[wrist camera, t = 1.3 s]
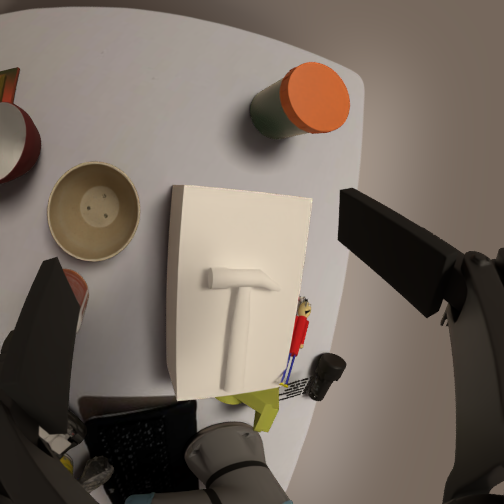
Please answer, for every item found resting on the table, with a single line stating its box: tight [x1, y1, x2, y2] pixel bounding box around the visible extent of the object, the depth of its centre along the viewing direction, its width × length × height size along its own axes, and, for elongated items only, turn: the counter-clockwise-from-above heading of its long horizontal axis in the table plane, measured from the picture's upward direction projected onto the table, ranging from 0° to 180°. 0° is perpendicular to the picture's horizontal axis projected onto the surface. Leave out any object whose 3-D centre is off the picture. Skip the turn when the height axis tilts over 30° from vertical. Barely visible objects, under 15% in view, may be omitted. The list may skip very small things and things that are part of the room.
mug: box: [0, 102, 41, 184], centre depth 22 cm, size 10×8×10 cm
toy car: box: [39, 409, 87, 460], centre depth 33 cm, size 7×15×4 cm, turn 131°
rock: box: [77, 456, 114, 493], centre depth 37 cm, size 9×22×4 cm
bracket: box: [215, 387, 279, 432], centre depth 42 cm, size 11×6×10 cm
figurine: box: [279, 298, 311, 388], centre depth 41 cm, size 3×2×15 cm
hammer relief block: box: [166, 185, 312, 401], centre depth 36 cm, size 14×25×11 cm, turn 173°
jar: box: [250, 78, 309, 139], centre depth 34 cm, size 8×8×11 cm
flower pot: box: [47, 162, 140, 262], centre depth 29 cm, size 10×10×7 cm
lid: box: [279, 62, 350, 134], centre depth 29 cm, size 8×8×2 cm
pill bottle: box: [63, 269, 89, 334], centre depth 28 cm, size 6×6×11 cm
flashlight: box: [279, 353, 346, 401], centre depth 49 cm, size 15×5×10 cm
